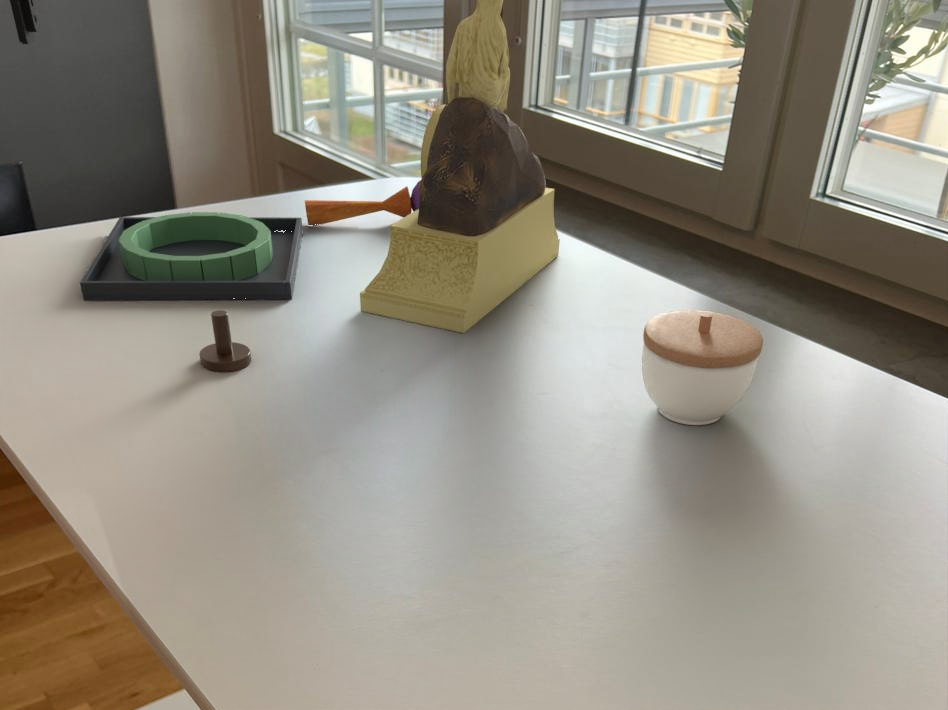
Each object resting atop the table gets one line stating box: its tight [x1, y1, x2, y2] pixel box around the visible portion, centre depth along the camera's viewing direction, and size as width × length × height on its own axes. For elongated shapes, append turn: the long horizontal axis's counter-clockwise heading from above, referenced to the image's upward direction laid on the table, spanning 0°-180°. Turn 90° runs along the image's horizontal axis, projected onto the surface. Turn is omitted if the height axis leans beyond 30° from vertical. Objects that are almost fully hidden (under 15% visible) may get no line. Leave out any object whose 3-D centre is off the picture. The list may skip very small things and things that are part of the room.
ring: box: [119, 211, 273, 281], centre depth 120 cm, size 18×18×3 cm
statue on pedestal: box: [359, 0, 560, 334], centre depth 110 cm, size 28×13×30 cm, turn 155°
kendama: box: [304, 179, 421, 226], centre depth 133 cm, size 6×6×20 cm
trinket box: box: [641, 309, 764, 426], centre depth 92 cm, size 11×11×9 cm
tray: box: [79, 216, 303, 301], centre depth 121 cm, size 23×23×2 cm
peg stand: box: [199, 309, 252, 373], centre depth 99 cm, size 5×5×5 cm
